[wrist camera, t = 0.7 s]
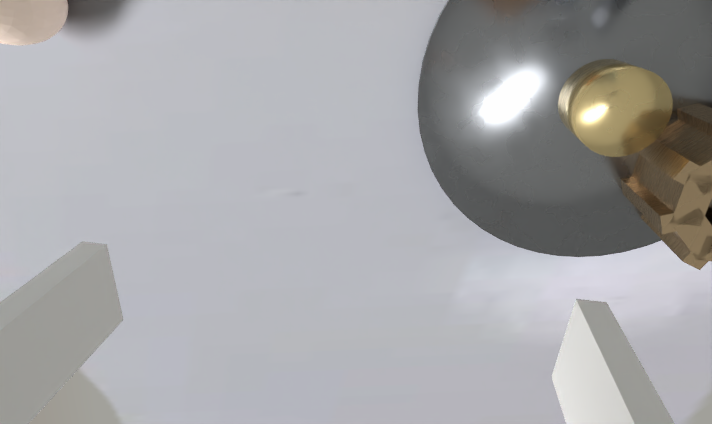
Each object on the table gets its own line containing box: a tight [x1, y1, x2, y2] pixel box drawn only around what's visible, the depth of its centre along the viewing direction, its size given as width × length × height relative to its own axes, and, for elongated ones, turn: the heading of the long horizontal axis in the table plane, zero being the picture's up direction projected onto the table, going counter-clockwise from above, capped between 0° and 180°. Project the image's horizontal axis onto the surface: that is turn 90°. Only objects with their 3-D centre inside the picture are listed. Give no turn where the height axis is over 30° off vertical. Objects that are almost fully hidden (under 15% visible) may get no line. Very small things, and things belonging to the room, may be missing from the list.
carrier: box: [418, 0, 712, 270], centre depth 28 cm, size 23×23×8 cm
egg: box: [0, 0, 68, 45], centre depth 30 cm, size 6×6×8 cm
